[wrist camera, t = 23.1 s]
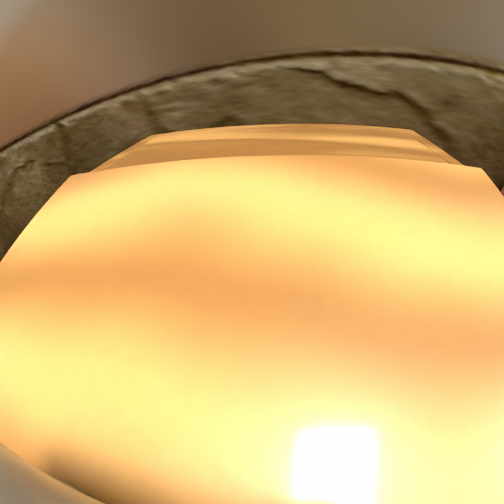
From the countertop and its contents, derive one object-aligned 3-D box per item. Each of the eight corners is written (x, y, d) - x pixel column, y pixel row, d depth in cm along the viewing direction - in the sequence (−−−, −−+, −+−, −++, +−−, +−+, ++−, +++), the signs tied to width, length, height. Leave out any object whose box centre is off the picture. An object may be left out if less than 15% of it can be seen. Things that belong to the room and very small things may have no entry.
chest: (388, 279, 22) (411, 360, 16) (181, 276, 25) (146, 349, 18) (411, 129, 16) (473, 172, 9) (150, 135, 18) (79, 178, 12)
